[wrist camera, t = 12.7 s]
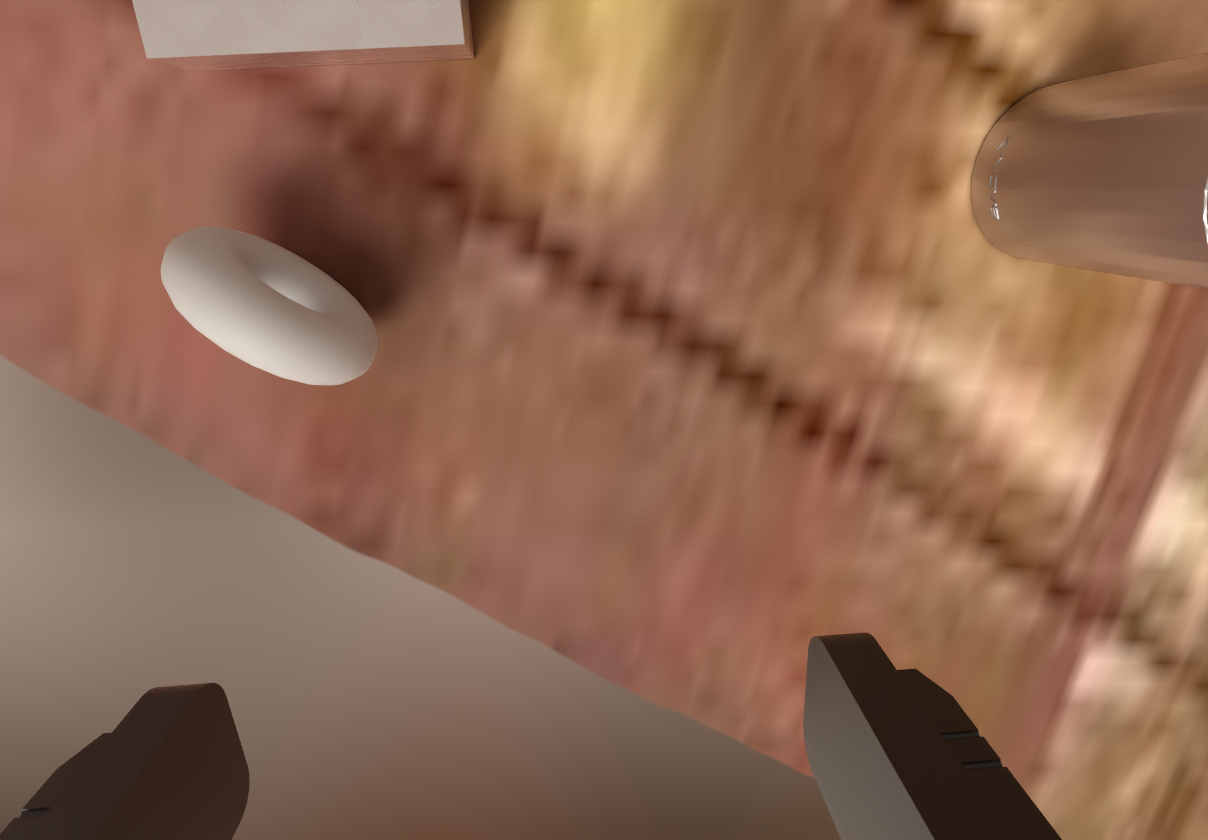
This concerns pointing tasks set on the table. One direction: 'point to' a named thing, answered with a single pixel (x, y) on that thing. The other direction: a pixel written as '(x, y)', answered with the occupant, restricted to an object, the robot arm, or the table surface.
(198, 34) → the flange
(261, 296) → the donut
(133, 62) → the table surface
